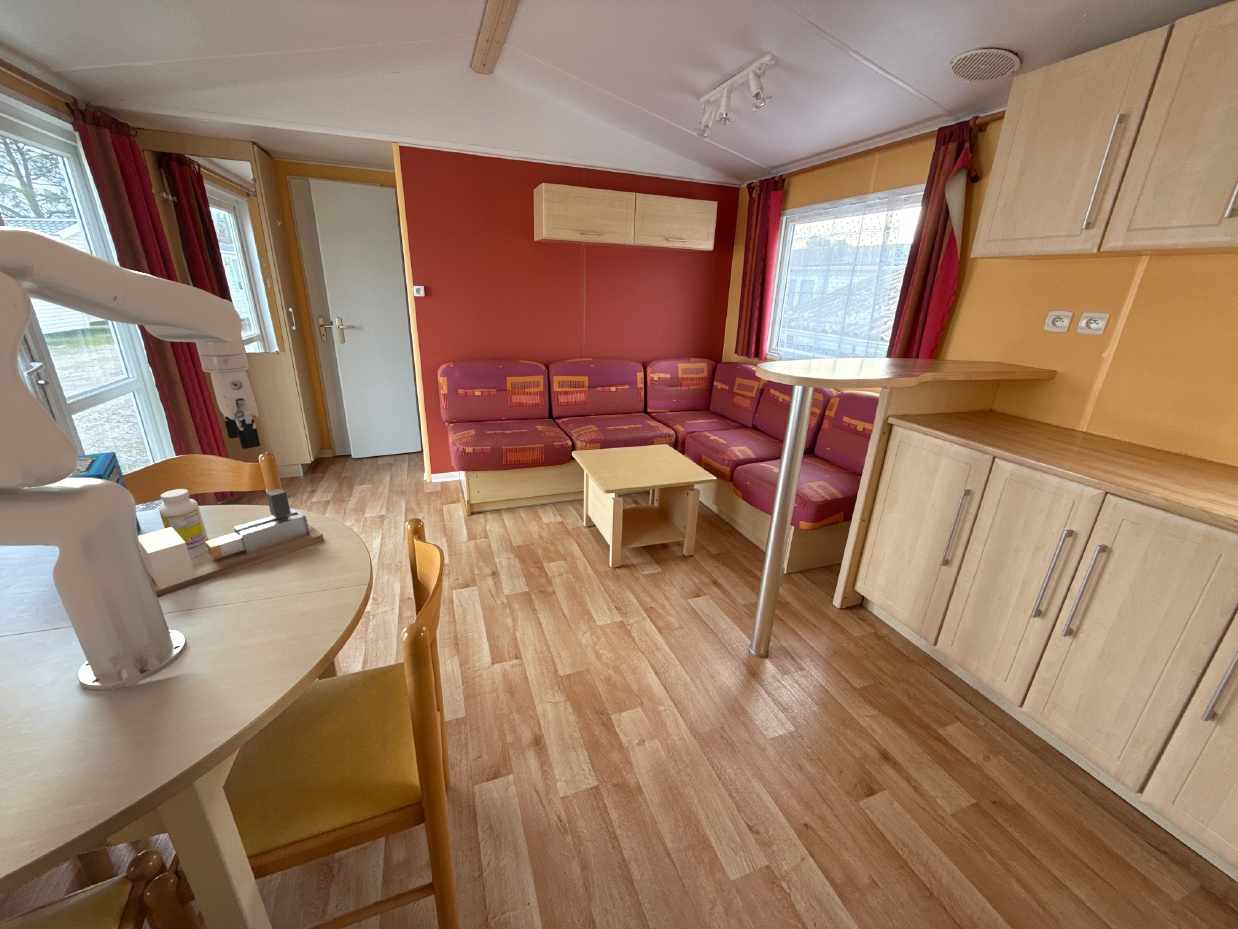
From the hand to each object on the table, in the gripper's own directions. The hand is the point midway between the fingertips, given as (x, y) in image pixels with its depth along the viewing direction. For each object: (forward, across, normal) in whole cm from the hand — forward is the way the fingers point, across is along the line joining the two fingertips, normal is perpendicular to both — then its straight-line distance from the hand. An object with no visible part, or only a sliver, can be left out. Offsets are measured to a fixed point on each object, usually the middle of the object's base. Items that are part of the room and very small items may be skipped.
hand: (244, 442), depth 106 cm
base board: (+25, -3, +6) cm, 26 cm away
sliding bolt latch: (+23, -3, +2) cm, 23 cm away
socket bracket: (+24, -3, +18) cm, 30 cm away
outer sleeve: (+24, -2, -1) cm, 24 cm away
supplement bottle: (+25, +13, +12) cm, 31 cm away
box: (+25, +22, +25) cm, 42 cm away
